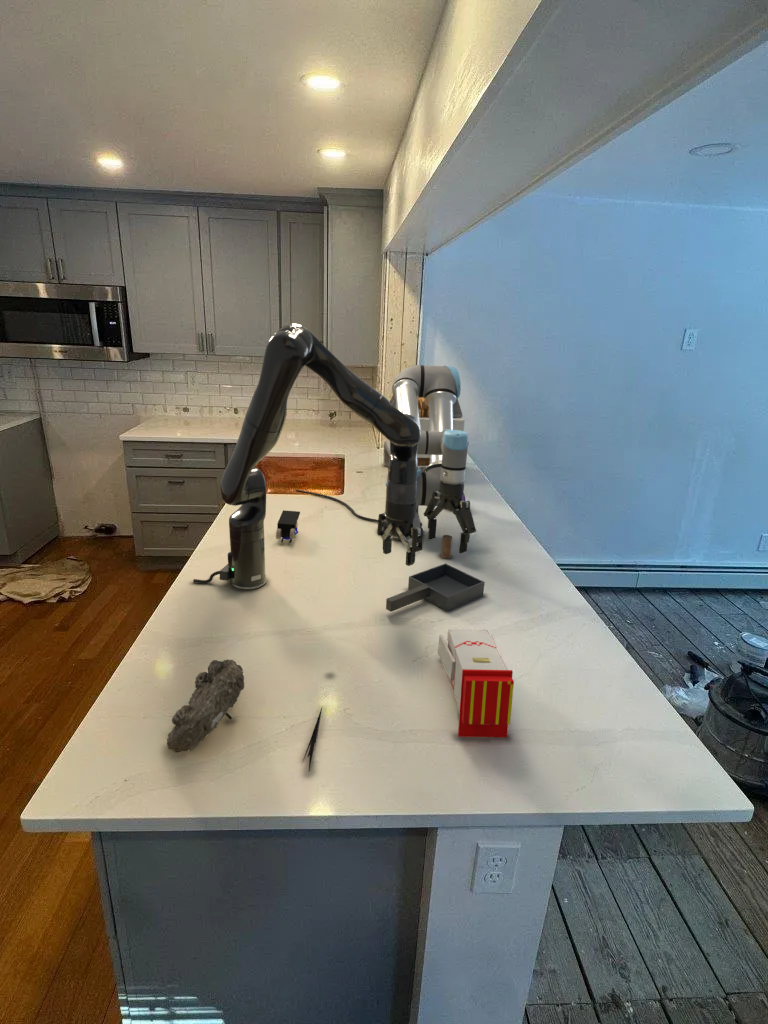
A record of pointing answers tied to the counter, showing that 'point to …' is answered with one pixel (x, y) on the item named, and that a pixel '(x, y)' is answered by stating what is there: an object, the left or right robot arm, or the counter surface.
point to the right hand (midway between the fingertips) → (446, 545)
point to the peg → (446, 546)
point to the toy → (478, 682)
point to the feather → (313, 740)
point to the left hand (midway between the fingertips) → (398, 558)
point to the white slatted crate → (425, 428)
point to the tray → (439, 588)
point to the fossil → (206, 705)
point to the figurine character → (287, 525)
